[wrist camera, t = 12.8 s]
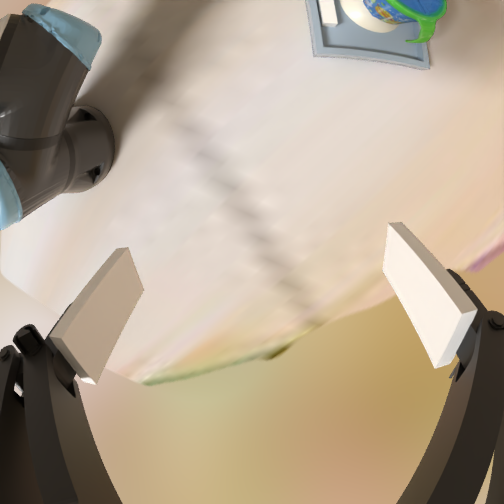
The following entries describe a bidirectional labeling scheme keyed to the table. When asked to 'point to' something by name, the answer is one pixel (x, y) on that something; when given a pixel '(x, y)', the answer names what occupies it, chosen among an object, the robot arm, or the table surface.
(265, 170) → the table surface
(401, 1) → the snack cup
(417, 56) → the meal tray
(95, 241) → the table surface
